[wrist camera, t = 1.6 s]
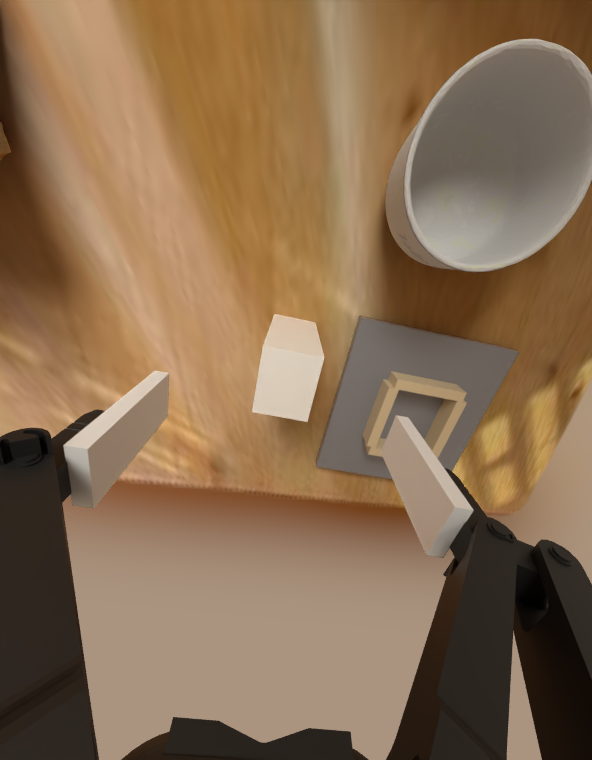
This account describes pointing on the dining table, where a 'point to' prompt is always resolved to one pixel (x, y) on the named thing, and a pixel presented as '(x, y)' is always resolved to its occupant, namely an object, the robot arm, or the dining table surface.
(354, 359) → the socket plate
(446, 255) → the teacup
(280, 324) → the plug
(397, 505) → the dining table surface
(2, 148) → the rough brown rock
